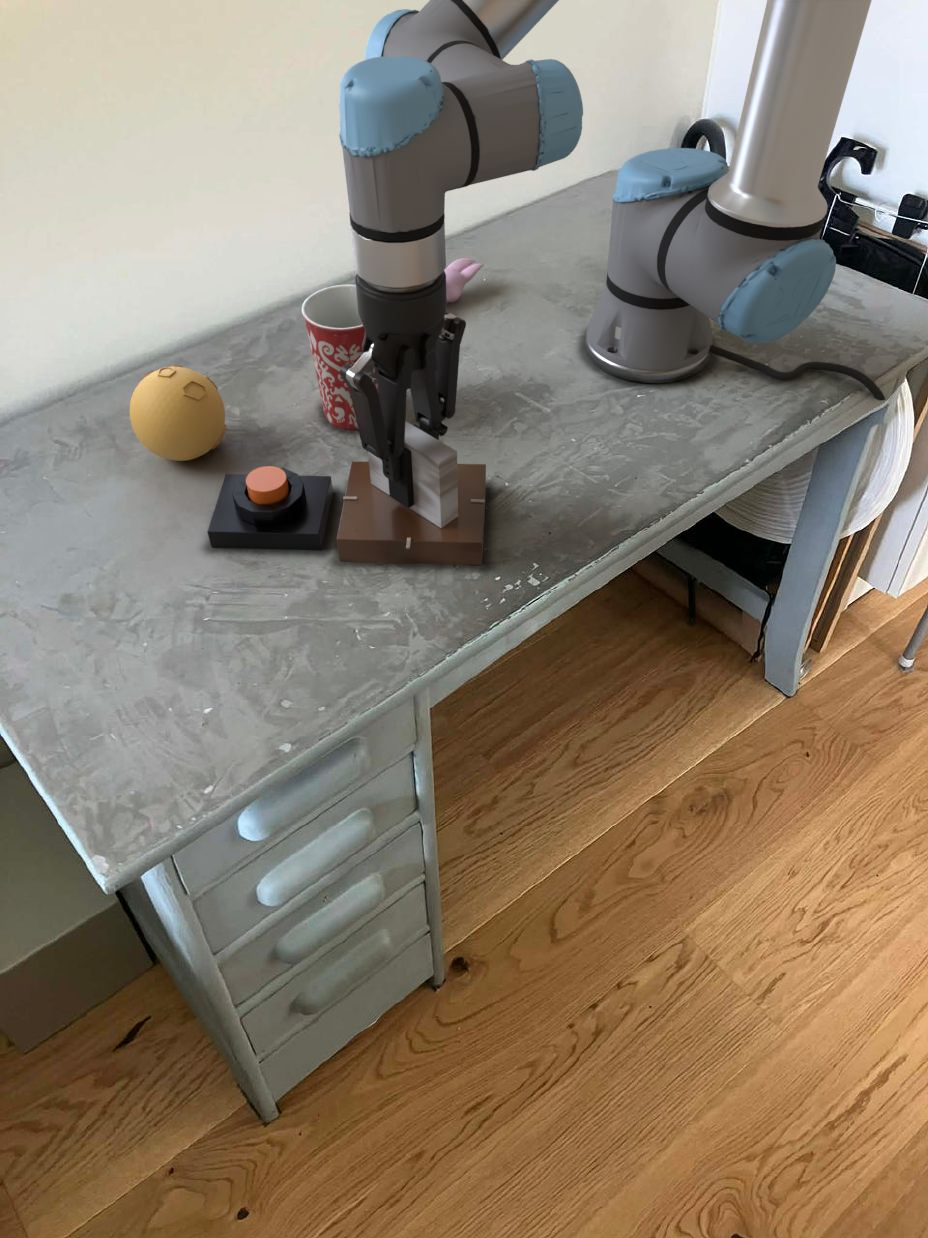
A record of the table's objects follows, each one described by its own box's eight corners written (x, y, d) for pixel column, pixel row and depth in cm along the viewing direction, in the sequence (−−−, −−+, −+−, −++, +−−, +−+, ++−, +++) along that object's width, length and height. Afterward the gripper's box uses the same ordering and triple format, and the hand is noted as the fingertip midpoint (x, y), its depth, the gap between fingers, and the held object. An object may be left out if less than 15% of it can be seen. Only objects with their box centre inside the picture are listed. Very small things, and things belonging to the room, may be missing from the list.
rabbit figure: (422, 343, 129) (498, 280, 135) (414, 304, 124) (493, 240, 130) (386, 325, 132) (462, 265, 138) (378, 287, 127) (457, 226, 133)
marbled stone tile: (458, 516, 100) (457, 448, 94) (441, 528, 99) (438, 460, 93) (388, 472, 105) (382, 405, 99) (370, 483, 103) (364, 416, 97)
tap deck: (487, 479, 108) (487, 456, 106) (482, 573, 99) (482, 549, 96) (354, 477, 109) (351, 453, 107) (336, 569, 99) (333, 545, 97)
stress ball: (215, 484, 108) (195, 405, 101) (127, 474, 110) (102, 396, 102) (244, 428, 115) (229, 350, 108) (162, 419, 116) (141, 342, 109)
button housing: (333, 492, 107) (329, 462, 104) (321, 550, 101) (316, 520, 98) (229, 490, 108) (222, 459, 105) (211, 548, 102) (203, 517, 99)
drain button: (291, 479, 103) (289, 466, 102) (285, 505, 100) (282, 491, 99) (252, 479, 103) (249, 465, 102) (245, 504, 100) (242, 491, 99)
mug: (346, 446, 113) (333, 337, 103) (300, 409, 117) (284, 302, 108) (435, 402, 118) (431, 296, 108) (388, 369, 123) (381, 264, 113)
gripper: (434, 224, 89) (441, 441, 107) (297, 290, 82) (329, 513, 99) (497, 252, 86) (494, 472, 103) (360, 324, 78) (381, 549, 95)
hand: (413, 492), depth 101 cm, fingers closed on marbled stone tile, 2 cm apart
